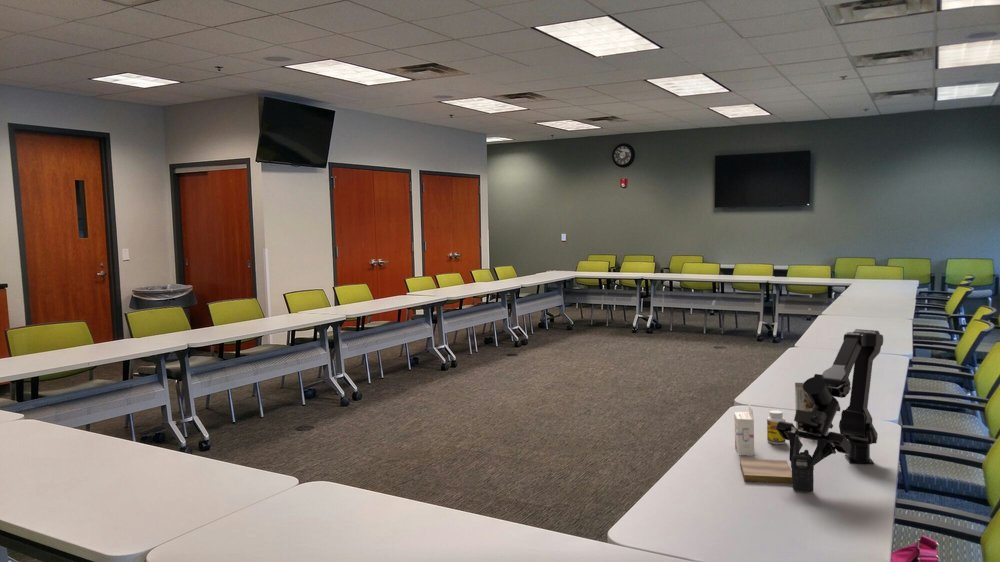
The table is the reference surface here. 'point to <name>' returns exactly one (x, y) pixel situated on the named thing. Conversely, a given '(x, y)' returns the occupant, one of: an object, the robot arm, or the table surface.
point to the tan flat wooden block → (766, 471)
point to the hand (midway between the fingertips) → (800, 463)
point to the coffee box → (801, 401)
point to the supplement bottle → (772, 421)
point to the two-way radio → (801, 470)
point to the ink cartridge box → (744, 432)
